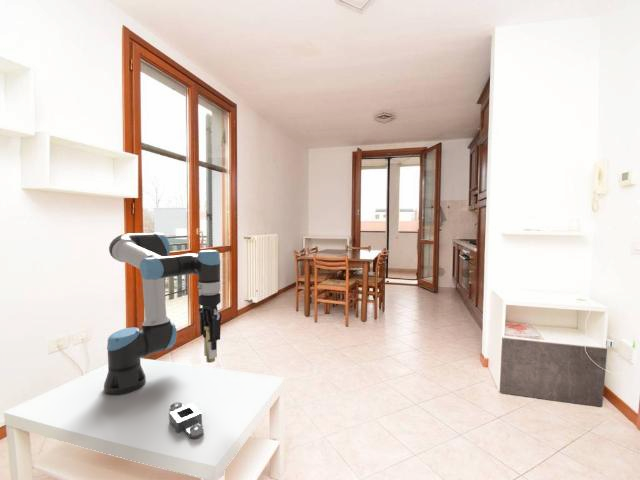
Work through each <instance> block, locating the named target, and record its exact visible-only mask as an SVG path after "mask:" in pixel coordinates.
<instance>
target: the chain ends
mask: <svg viewBox="0 0 640 480" xmlns="http://www.w3.org/2000/svg"><path fill="white" fill-rule="evenodd" d="M168 414H169V417H168V418H169V423H170V425H171V426H172V427H173V428H174V430H175V431H176V433H177V434H179V433H182V432H184V434H185V435H186V436H187V437H188V438H189V439H190V440H197V439H200V438H201V437H202V436H203V434H204V433H205V432H204V427H203V425H201V424H202V423H203V418H202V417H203V416H202V411H200V409H198V407H197V406H196V405H195V404H194V403H190V404H187V405H185V406H184V405H183V403H182V402H180V401H178V402H174V403H172V404H171V405H170V406H169V413H168Z"/></svg>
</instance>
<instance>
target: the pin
mask: <svg viewBox="0 0 640 480" xmlns="http://www.w3.org/2000/svg"><path fill="white" fill-rule="evenodd" d="M204 330H206V356H205V358H206V361H205V362H206V363H214V362H215V361H216V357H215V358H212V359H209V342H208V340H210V335H209V325H206V326H204Z"/></svg>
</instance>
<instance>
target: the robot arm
mask: <svg viewBox="0 0 640 480" xmlns="http://www.w3.org/2000/svg"><path fill="white" fill-rule="evenodd" d="M108 251H109V254H110V256H111V257H112V259H114V260H115V261H118V262H121V263H127V264H129V265H131V266H133V267H135V268H136V269H138V270H139V273H140V276H141V281H142V282H141V283H142V294H143V305H144V321H143V322H142V324H141V329H139V328H138V327H134V326H133V327H124V328H122V329H120V330H118V331H115V332H113V333H111V334H110V335H109V337H108V338H107V345H106V349H107V365H108V366H107V367H108V369H107V370H108V371H107V375H106V378H105V381H104V383H103V391H104V393H105V394H107V395H109V396H118V395H125V394H128V393H131V392H134V391H137V390H139V389H140V388H142V387H143V386H144V385H145V384H146V381H147V380H146V377H147V376H146V374H145V372H144V369H143V367H142V364H141V358H143V357H147V356H150V355H153V354H156V353H159V352H164V351H166V350H169V349H171V348H172V347H174V345H175V343H176V341H177V337H178V333H177V332H178V330H177V327H176V325H175V323H174V322H172V321H171V319H170V318H169V316H167V307H166V295H165V294H166V293H165V283H164V282H165V281H164V279H165V278H173V277H181V276H188V275H196V276H197V279H198V280H197V281H198V285H197V286H196V287H197V288H198V293H199V294H198V304H199V306H201V307H198V312H199V323H200V324H199V325H200V335H202V337H203V348H204V349H203V351H204V352H203V354H204V356H205V357H206V330H204V326H206V325H209V335H210V340H208V342H209V359H212V358H215V359H216V358H217V357H218V353H217V352H218V347H217V346H218V345H217V344H218V343H217V341H219V340H221V329H222V328H221V325H222V322H221V321H222V320H221V319H222V315H223V313H219V312H218V305H219V304H221V298H222V297H221V293H220V292H221V256H220V254H221V253H220V251H219V250H217V249H203V250H199V251H198V252H197V253H194V252H191V253H190V252H189V253H184V254H178V255H170V254H171V253H170V252H171V245H170V241H169V239H168V237H167V236H166V235H165V234H164V233H161V232H137V233H136V232H134V233H132V232H129V233H123V234H121V235H117V236H116V237H115V238H114V239H112V240H111V241H110V244H109V247H108Z"/></svg>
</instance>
